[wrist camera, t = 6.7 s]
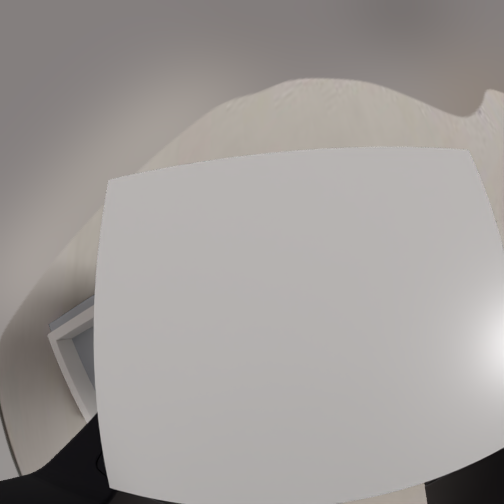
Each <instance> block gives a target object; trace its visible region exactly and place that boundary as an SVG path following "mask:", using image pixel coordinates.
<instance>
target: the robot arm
mask: <svg viewBox="0 0 504 504" xmlns="http://www.w3.org/2000/svg"><path fill="white" fill-rule="evenodd" d="M424 484H425V485H426V486H425V491H426V497H427V504H504V448H502V449H500V450H498V451H497V452H495V453H493V454H491V455H489V456H487V457H485V458H483V459H481V460H479V461H477V462H474V463H472V464H470V465H468V466H466V467H463V468H461V469H459V470H456V471H454V472H451V473H449V474H446V475H444V476H441V477H439V478H436V479H433V480H430V481H427V482H424ZM0 504H181V503H175V502H169V501H163V500H158V499H153V498H148V497H143V496H139V495H135V494H131V493H127V492H123V491H119V490H116V489H112V488H110V486H109V482H108V477H107V472H106V467H105V461H104V456H103V450H102V443H101V437H100V429H99V421H98V412H97V413H96V414H95V415H94V416H93V418H92V419H91V420H90V421H89V422H88V423H87V424H86V425H85V426H84V427H83V429H82V430H81V431H80V432H79V433H78V434H77V435H76V436H75V437H74V438H73V439H72V440H71V441H70V442H69V443H68V444H67V445H66V446H65V447H64V448H63V449H62V450H61V451H60V452H59V453H58V454H57V455H56V456H55V457H54V458H53V459H52V460H51V461H49V462H48V463H47V464H46V465H45V466H44V467H42V468H41V469H39V470H37V471H35V472H33V473H31V474H28V475H24V476H20V477H16V478H12V479H8V480H3V481H0Z"/></svg>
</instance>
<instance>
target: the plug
mask: <svg viewBox="0 0 504 504" xmlns="http://www.w3.org/2000/svg"><path fill="white" fill-rule="evenodd" d="M94 372H95V389H96V402H97V412H98V421H99V429H100V437H101V443H102V450H103V456H104V461H105V467H106V472H107V477H108V482H109V486H110V488H112V489H116V490H119V491H123V492H127V493H131V494H135V495H139V496H143V497H148V498H153V499H158V500H163V501H169V502H175V503H181V504H337V503H343V502H349V501H355V500H360V499H365V498H370V497H374V496H379V495H383V494H387V493H391V492H395V491H398V490H402V489H405V488H409V487H412V486H415V485H418V484H421V483H424V482H427V481H430V480H433V479H436V478H439V477H441V476H444V475H446V474H449V473H451V472H454V471H456V470H459V469H461V468H463V467H466V466H468V465H470V464H472V463H474V462H477V461H479V460H481V459H483V458H485V457H487V456H489V455H491V454H493V453H495V452H497V451H498V450H500V449H502V448H504V249H503V245H502V241H501V238H500V234H499V230H498V227H497V224H496V220H495V217H494V214H493V211H492V208H491V205H490V202H489V199H488V196H487V193H486V190H485V188H484V185H483V182H482V180H481V177H480V175H479V172H478V170H477V167H476V165H475V163H474V160H473V158H472V156H471V154H470V151H469V150H465V149H450V148H429V147H349V148H327V149H310V150H296V151H285V152H274V153H264V154H255V155H246V156H238V157H230V158H223V159H216V160H209V161H202V162H196V163H190V164H184V165H178V166H172V167H167V168H162V169H156V170H151V171H146V172H141V173H137V174H132V175H127V176H123V177H118V178H115V179H110V180H109V181H108V187H107V192H106V198H105V204H104V210H103V216H102V223H101V231H100V239H99V247H98V257H97V268H96V281H95V298H94Z"/></svg>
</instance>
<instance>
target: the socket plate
mask: <svg viewBox="0 0 504 504" xmlns="http://www.w3.org/2000/svg"><path fill="white" fill-rule="evenodd" d="M94 298H95V294H94V295H93V296H91V297H90V298H88V299H87V300H85V301H83V302H82V303H80V304H79V305H77V306H76V307H74V308H73V309H71V310H70V311H68V312H67V313H65V314H64V315H62V316H61V317H59V318H58V319H56V320H55V321H53V322H52V323H50V324H49V327H50V330H51V332H50V333H49V334H47V336H48V339H49V341H50V344H51V347H52V349H53V352H54V354H55V357H56V359H57V362H58V364H59V367H60V369H61V371H62V374H63V376H64V378H65V380H66V383H67V385H68V387H69V389H70V391H71V393H72V395H73V397H74V399H75V401H76V403H77V405H78V407H79V409H80V411H81V413H82V415H83V417H84V419H85V420H86V422H87V423H88V422H89V421H90V420H91V419H92V418H93V416H94V415H95V414H96V413H97V402H96V389H95V372H94Z"/></svg>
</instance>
